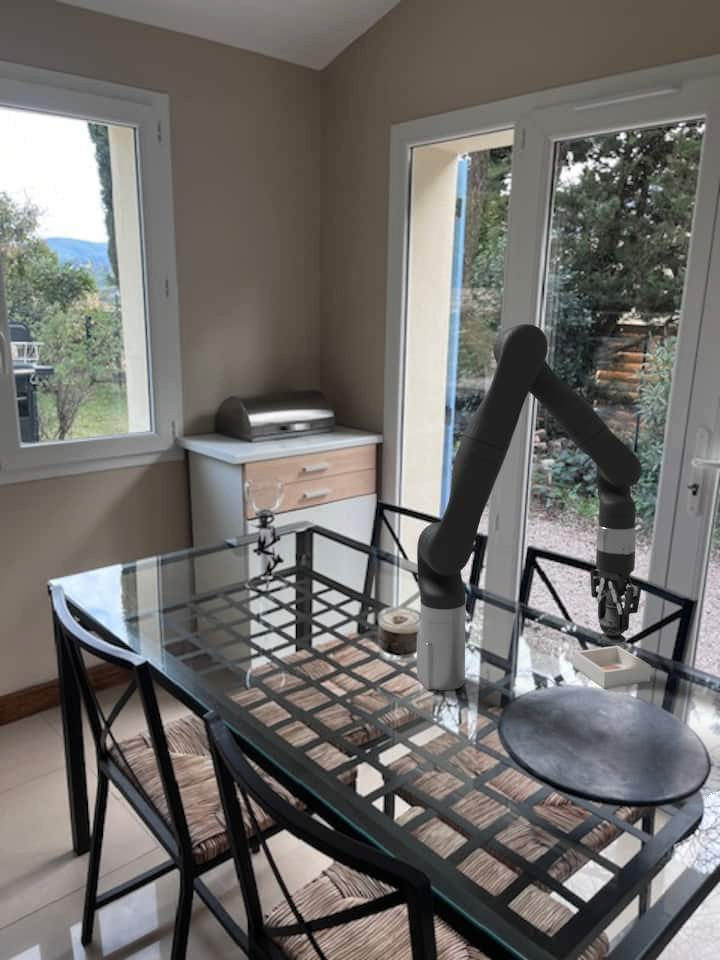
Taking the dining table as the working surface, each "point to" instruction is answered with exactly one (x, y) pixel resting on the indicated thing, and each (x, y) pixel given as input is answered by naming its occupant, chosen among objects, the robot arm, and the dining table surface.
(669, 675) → the dining table surface
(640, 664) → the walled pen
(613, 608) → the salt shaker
